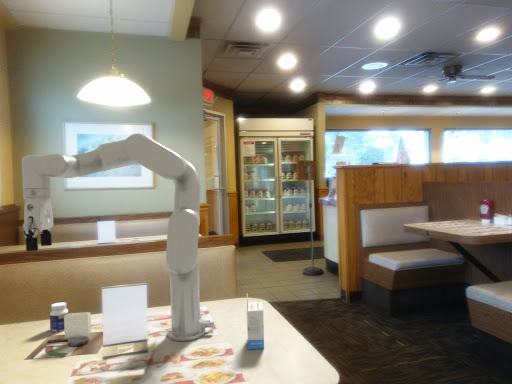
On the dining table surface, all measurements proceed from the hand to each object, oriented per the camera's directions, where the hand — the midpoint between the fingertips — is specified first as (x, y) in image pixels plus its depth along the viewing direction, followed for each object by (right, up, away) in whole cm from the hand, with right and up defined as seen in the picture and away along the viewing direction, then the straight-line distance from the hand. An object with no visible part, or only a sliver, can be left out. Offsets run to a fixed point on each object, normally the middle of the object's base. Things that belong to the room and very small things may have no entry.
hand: (39, 248), depth 117 cm
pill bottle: (+1, -31, +11) cm, 33 cm away
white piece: (+11, -29, -2) cm, 31 cm away
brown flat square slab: (+11, -31, -2) cm, 33 cm away
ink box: (+69, -29, -3) cm, 75 cm away
